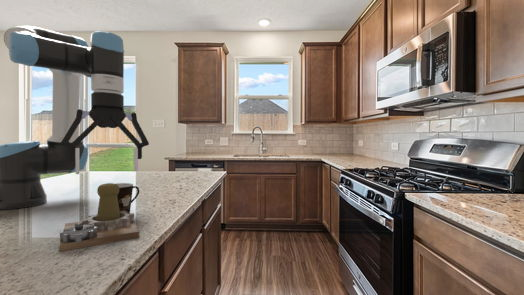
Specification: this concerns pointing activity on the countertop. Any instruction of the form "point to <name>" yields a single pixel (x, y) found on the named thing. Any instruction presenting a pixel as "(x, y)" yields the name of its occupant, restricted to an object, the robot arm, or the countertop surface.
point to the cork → (108, 202)
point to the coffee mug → (126, 196)
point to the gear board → (105, 231)
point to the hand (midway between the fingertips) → (108, 172)
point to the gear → (78, 233)
